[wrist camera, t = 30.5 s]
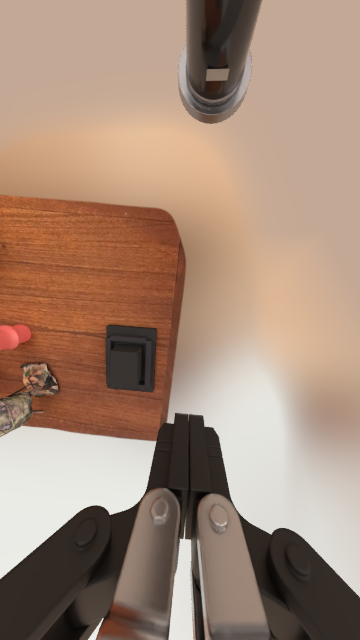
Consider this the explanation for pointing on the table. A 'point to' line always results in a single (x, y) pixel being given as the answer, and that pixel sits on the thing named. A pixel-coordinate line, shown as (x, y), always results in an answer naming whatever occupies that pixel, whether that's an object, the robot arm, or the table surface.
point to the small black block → (126, 365)
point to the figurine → (13, 336)
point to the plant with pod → (26, 397)
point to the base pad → (133, 337)
